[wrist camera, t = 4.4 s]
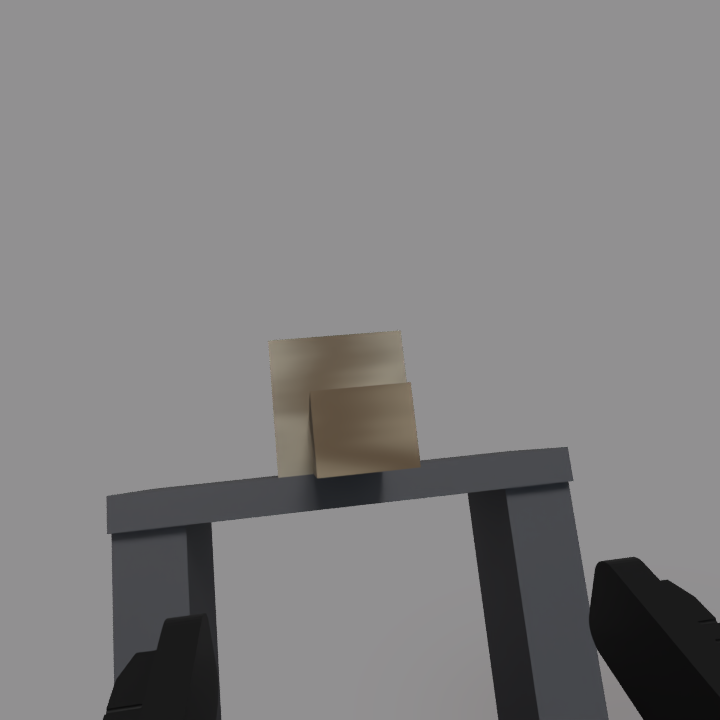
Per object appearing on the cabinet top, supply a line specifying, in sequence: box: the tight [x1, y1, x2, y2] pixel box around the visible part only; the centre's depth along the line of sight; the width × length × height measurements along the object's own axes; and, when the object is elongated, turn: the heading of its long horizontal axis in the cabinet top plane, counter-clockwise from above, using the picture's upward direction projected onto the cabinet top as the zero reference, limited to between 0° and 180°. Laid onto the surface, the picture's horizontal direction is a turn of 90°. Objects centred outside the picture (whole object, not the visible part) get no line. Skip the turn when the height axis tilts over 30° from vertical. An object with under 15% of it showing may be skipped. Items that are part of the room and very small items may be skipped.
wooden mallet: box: [268, 331, 421, 478], centre depth 23 cm, size 6×14×6 cm, turn 6°
